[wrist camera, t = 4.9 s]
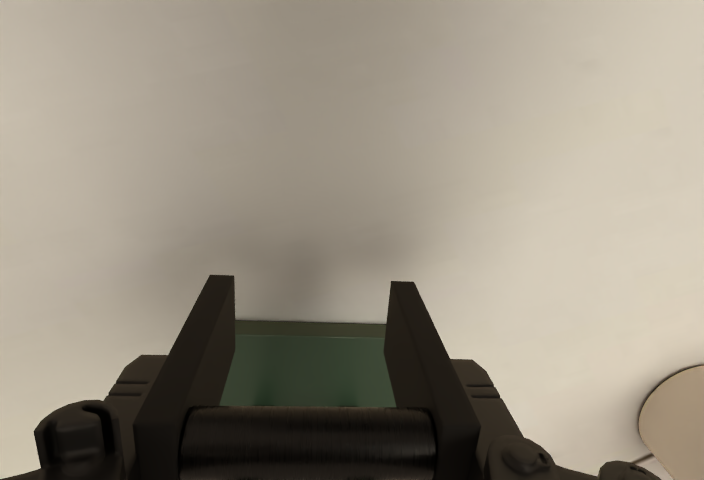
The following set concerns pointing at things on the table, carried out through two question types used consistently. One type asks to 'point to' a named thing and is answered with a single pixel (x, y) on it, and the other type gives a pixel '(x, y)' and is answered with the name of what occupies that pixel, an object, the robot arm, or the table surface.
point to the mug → (677, 424)
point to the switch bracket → (308, 365)
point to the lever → (307, 443)
